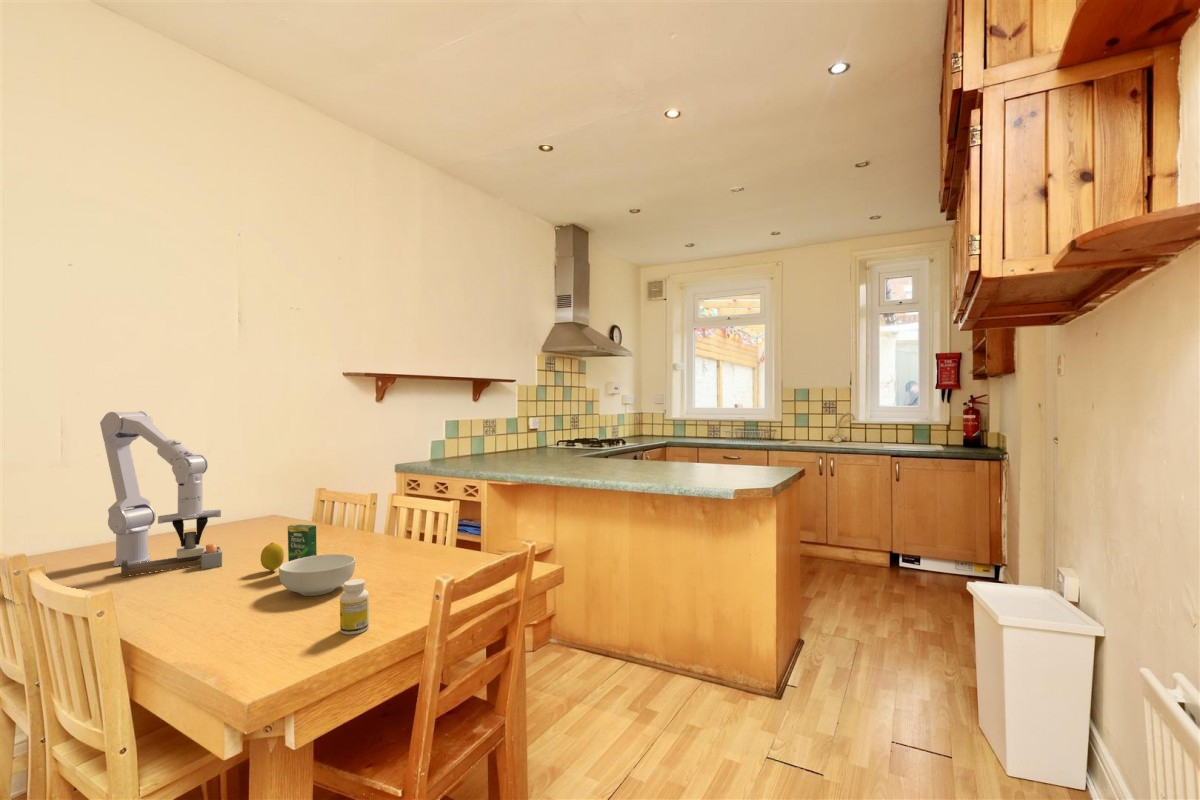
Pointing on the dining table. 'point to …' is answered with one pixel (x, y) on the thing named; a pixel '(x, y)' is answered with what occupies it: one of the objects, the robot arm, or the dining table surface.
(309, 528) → the coffee box
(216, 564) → the box
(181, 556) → the carriage
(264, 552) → the lemon
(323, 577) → the cereal bowl
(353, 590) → the supplement bottle
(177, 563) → the rail board
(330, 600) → the dining table surface
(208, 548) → the orange cylindrical peg
